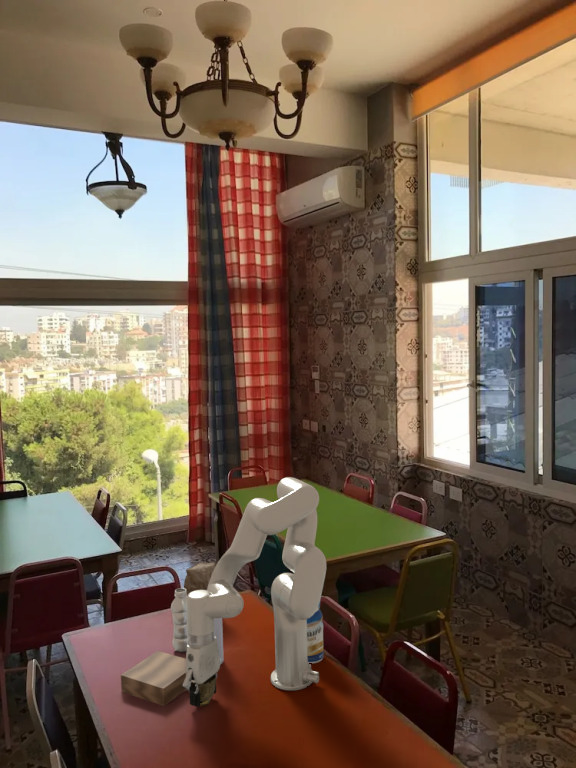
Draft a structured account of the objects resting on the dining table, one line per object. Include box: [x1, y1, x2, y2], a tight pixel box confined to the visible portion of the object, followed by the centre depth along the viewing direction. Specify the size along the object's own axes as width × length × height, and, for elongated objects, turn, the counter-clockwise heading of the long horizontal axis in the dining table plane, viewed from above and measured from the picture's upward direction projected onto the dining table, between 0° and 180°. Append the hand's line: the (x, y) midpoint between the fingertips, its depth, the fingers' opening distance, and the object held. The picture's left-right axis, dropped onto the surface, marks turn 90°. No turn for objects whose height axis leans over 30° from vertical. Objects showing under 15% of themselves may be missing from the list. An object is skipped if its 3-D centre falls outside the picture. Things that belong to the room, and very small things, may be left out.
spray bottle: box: [214, 618, 224, 665], centre depth 198 cm, size 6×6×22 cm
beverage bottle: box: [307, 602, 324, 664], centre depth 199 cm, size 8×8×20 cm
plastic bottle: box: [170, 587, 188, 653], centre depth 207 cm, size 6×7×20 cm
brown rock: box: [183, 561, 217, 597], centre depth 229 cm, size 13×13×20 cm
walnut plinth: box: [120, 650, 187, 707], centre depth 186 cm, size 16×16×5 cm
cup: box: [192, 673, 217, 707], centre depth 176 cm, size 8×7×8 cm
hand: (203, 698), depth 176 cm, fingers closed on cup, 6 cm apart
